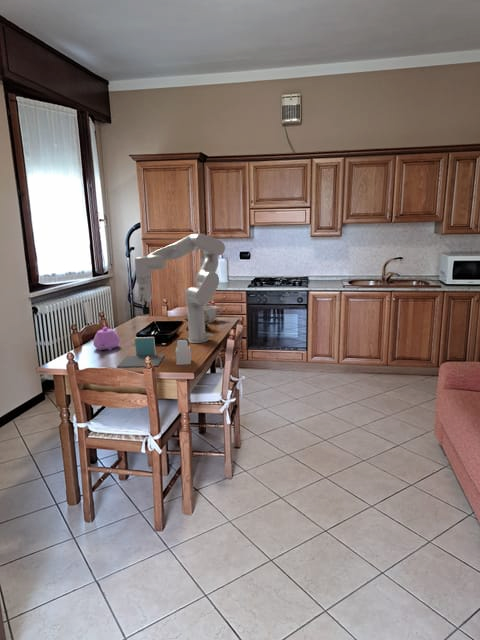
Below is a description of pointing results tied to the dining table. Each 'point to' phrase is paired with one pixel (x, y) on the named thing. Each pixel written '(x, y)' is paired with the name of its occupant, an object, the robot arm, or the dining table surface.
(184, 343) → the medicine bottle
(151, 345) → the tile
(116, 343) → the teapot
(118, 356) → the dining table surface
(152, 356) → the mat
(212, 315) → the teacup
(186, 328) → the owl figurine
